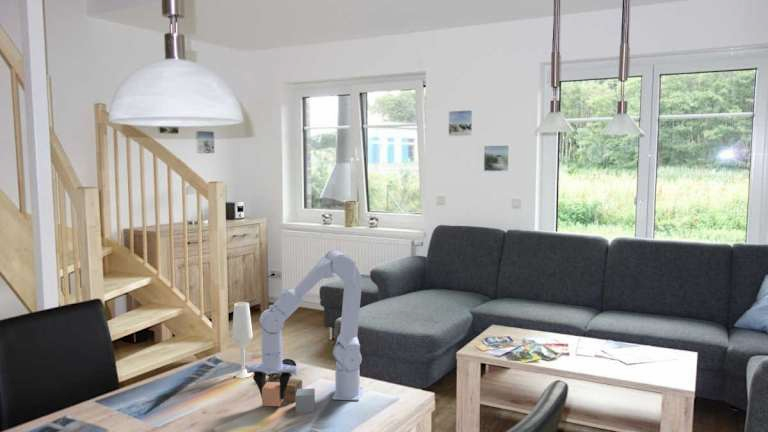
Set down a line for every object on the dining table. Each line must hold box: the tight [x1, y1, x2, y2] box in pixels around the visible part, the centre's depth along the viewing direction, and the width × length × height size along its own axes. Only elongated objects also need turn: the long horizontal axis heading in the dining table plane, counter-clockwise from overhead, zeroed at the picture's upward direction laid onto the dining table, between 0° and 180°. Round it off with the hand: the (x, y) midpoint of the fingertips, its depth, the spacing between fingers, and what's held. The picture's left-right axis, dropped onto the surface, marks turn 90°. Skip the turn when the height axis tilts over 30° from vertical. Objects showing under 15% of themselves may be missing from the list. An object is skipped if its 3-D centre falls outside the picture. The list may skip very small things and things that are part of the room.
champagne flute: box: [231, 301, 254, 379], centre depth 195 cm, size 7×7×24 cm
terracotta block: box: [261, 381, 284, 407], centre depth 171 cm, size 5×5×5 cm
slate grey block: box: [295, 388, 316, 413], centre depth 170 cm, size 5×5×5 cm
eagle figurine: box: [266, 358, 298, 382], centre depth 193 cm, size 8×7×9 cm
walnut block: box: [282, 377, 303, 403], centre depth 178 cm, size 5×5×5 cm
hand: (273, 397), depth 171 cm, fingers closed on terracotta block, 5 cm apart
